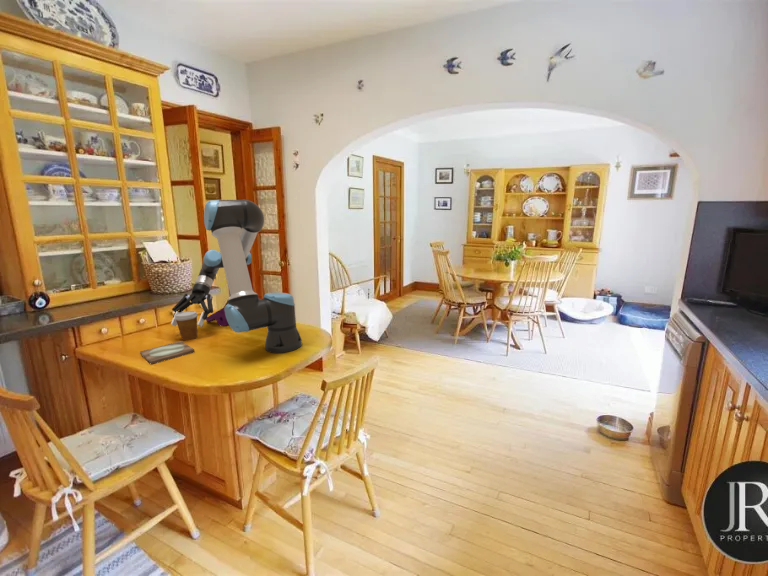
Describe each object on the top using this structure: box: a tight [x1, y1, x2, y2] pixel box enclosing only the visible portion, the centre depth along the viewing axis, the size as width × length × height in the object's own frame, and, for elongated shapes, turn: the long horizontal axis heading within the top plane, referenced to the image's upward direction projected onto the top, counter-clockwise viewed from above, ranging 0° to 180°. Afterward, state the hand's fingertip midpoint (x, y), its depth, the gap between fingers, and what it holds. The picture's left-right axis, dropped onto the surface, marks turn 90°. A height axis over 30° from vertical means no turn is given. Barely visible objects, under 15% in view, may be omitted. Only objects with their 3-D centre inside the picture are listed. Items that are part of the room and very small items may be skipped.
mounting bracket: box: [205, 307, 229, 327], centre depth 195 cm, size 9×8×18 cm
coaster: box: [139, 340, 195, 365], centre depth 154 cm, size 16×16×1 cm
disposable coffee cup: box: [175, 310, 198, 341], centre depth 171 cm, size 10×10×12 cm
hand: (186, 325), depth 171 cm, fingers open, 13 cm apart
